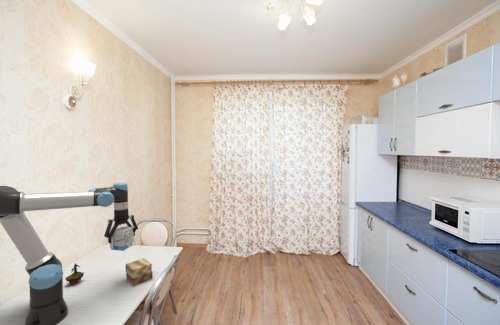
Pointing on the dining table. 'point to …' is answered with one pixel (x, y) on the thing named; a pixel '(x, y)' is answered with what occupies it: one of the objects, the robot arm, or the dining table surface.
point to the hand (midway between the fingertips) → (122, 244)
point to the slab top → (138, 268)
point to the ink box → (122, 238)
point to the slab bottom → (139, 278)
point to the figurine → (74, 275)
